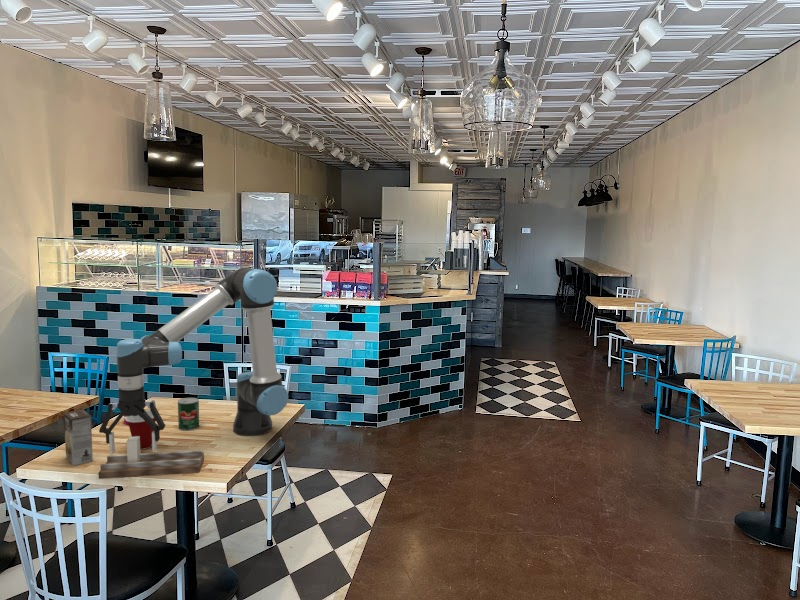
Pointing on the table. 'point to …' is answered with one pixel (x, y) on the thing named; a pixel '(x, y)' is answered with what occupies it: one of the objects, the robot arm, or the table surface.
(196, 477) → the table surface
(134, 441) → the fader tab
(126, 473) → the fader track
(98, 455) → the table surface
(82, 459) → the coffee box
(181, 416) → the canned tomato
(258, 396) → the robot arm
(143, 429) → the plastic cup
